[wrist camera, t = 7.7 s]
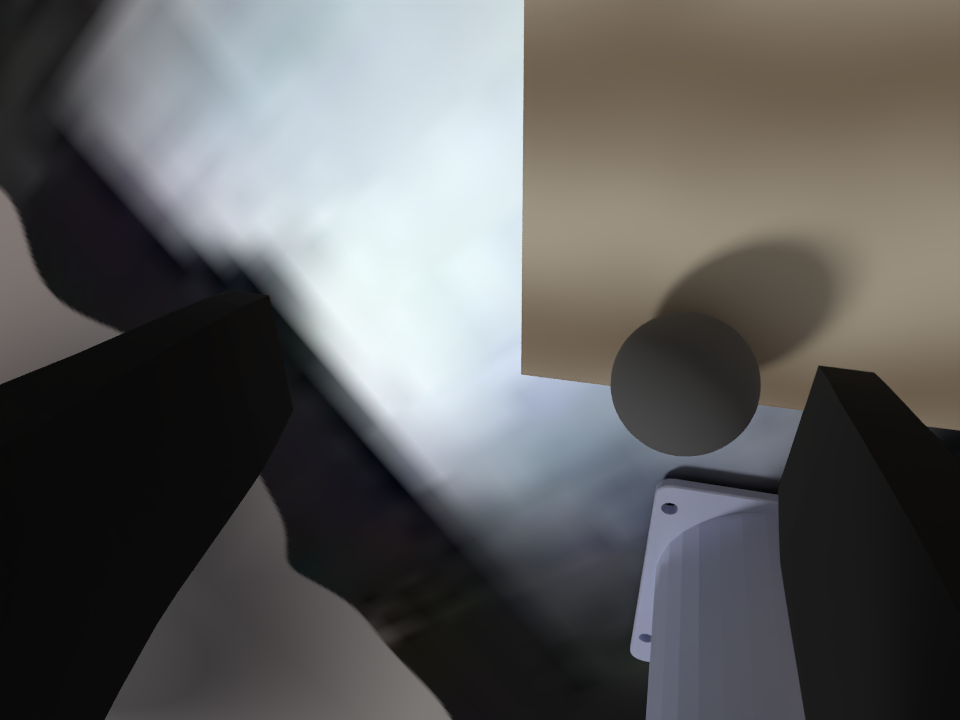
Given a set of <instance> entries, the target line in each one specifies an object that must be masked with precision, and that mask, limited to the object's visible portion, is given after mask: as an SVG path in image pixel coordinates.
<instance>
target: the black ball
mask: <svg viewBox="0 0 960 720" xmlns="http://www.w3.org/2000/svg"><path fill="white" fill-rule="evenodd" d="M760 392H761V377H760V372H759V367H758V363H757V361H756V358H755V356H754V354H753V352H752V350H751V348H750V347H749V345H748V344H747V342H746V341H745V340H744V339H743V337H742V336H741V335H740V334H739V333H738V332H736V331H735V330H734V329H733V328H732V327H730V326H729V325H728V324H726V323H724V322H722V321H720V320H718V319H716V318H714V317H711V316H708V315H705V314H701V313H694V312H675V313H670V314H665V315H662V316H659V317H656V318H654V319H652V320H650V321H648V322H646V323H644V324H643V325H641V326H640V327H639V328H637V329H636V330H635V331H634V332H633V333H632V334H631V335H630V336H629V337H628V338H627V339H626V340H625V342H624V343H623V344H622V346H621V348H620V350H619V352H618V353H617V355H616V358H615V361H614V364H613V367H612V372H611V394H612V400H613V403H614V407H615V409H616V412H617V414H618V416H619V418H620V420H621V421H622V422H623V424H624V425H625V427H626V428H627V429H628V430H629V432H630V433H631V434H632V435H633V436H635V437H636V438H637V439H638V440H639V441H641V442H642V443H644V444H645V445H646V446H648V447H650V448H652V449H654V450H657V451H659V452H662V453H666V454H670V455H675V456H698V455H703V454H708V453H711V452H714V451H716V450H718V449H721V448H722V447H724V446H726V445H727V444H729V443H731V442H732V441H733V440H735V439H736V438H737V437H738V436H739V435H740V434H741V433H742V432H743V431H744V430H745V428H746V427H747V426H748V425H749V423H750V421H751V419H752V418H753V416H754V414H755V412H756V409H757V406H758V403H759V398H760Z"/></svg>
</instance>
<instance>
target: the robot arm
mask: <svg viewBox="0 0 960 720" xmlns="http://www.w3.org/2000/svg"><path fill="white" fill-rule="evenodd" d="M292 411H293V406H292V402H291V397H290V392H289V387H288V383H287V378H286V373H285V369H284V364H283V359H282V354H281V350H280V345H279V340H278V336H277V331H276V326H275V321H274V317H273V312H272V307H271V303H270V298H269V295H261V294H253V293H246V292H238V291H227V292H224V293H221V294H218V295H215V296H212V297H209V298H206V299H204V300H201V301H198V302H196V303H193V304H191V305H188V306H186V307H183V308H181V309H179V310H176V311H174V312H172V313H169V314H167V315H165V316H162V317H160V318H158V319H155V320H153V321H151V322H148V323H146V324H144V325H142V326H139V327H137V328H135V329H132V330H130V331H128V332H125V333H123V334H121V335H119V336H116V337H114V338H112V339H109V340H107V341H105V342H103V343H100V344H98V345H96V346H93V347H91V348H89V349H87V350H84V351H82V352H80V353H77V354H75V355H73V356H70V357H68V358H65V359H63V360H60V361H57V362H55V363H53V364H50V365H48V366H46V367H43V368H40V369H38V370H35V371H33V372H30V373H28V374H25V375H23V376H20V377H18V378H15V379H13V380H11V381H8V382H6V383H3V384H1V385H0V720H105V718H106V716H107V714H108V712H109V710H110V708H111V706H112V704H113V702H114V700H115V698H116V697H117V695H118V693H119V691H120V689H121V687H122V686H123V683H124V682H125V680H126V678H127V677H128V675H129V673H130V671H131V669H132V668H133V666H134V664H135V662H136V660H137V659H138V657H139V655H140V653H141V651H142V650H143V648H144V646H145V644H146V642H147V641H148V639H149V637H150V635H151V634H152V632H153V630H154V628H155V627H156V625H157V623H158V622H159V620H160V619H161V617H162V615H163V614H164V612H165V611H166V609H167V608H168V606H169V604H170V603H171V601H172V600H173V598H174V597H175V595H176V594H177V592H178V591H179V590H180V588H181V587H182V585H183V584H184V582H185V581H186V580H187V578H188V577H189V575H190V574H191V572H192V571H193V570H194V568H195V567H196V565H197V564H198V562H199V561H200V559H201V558H202V557H203V555H204V554H205V552H206V551H207V550H208V548H209V547H210V545H211V544H212V542H213V541H214V540H215V538H216V537H217V535H218V534H219V533H220V531H221V530H222V528H223V527H224V525H225V524H226V523H227V521H228V520H229V518H230V517H231V515H232V514H233V513H234V511H235V509H236V508H237V507H238V505H239V504H240V502H241V501H242V500H243V498H244V497H245V495H246V494H247V492H248V491H249V489H250V488H251V486H252V485H253V483H254V482H255V481H256V479H257V478H258V476H259V474H260V473H261V471H262V470H263V468H264V467H265V465H266V463H267V461H268V459H269V457H270V455H271V454H272V452H273V450H274V448H275V446H276V444H277V442H278V440H279V438H280V436H281V434H282V432H283V430H284V428H285V425H286V423H287V421H288V419H289V417H290V415H291V413H292ZM665 503H672V504H675V505H674V506H668V505H666V504H665ZM630 651H631V654H632V655H633V656H634V657H636V658H637V659H640V660H643V661H648V662H650V666H649V681H648V697H647V712H646V720H960V461H959V460H958V459H957V458H956V457H955V456H954V455H953V454H952V453H951V452H950V451H949V450H948V449H947V448H946V447H945V446H944V445H943V443H942V442H941V441H940V440H939V439H938V438H937V437H936V436H935V435H934V434H933V433H932V432H931V431H930V430H929V429H928V428H927V427H926V425H925V424H924V423H923V422H922V421H921V420H920V419H919V418H918V417H917V416H916V415H915V414H914V413H913V412H912V411H911V409H910V408H909V407H908V406H907V405H906V404H905V403H904V402H903V401H902V400H901V399H900V398H899V397H898V396H897V395H896V394H895V393H894V391H893V390H892V389H891V388H890V387H889V386H888V385H887V384H886V383H885V382H884V381H883V380H882V379H881V378H880V377H879V376H878V375H877V374H875V373H874V372H867V371H859V370H851V369H844V368H836V367H828V366H820V365H818V368H817V371H816V374H815V377H814V380H813V383H812V387H811V390H810V393H809V396H808V399H807V402H806V405H805V408H804V411H803V414H802V417H801V420H800V423H799V426H798V429H797V432H796V435H795V438H794V441H793V444H792V447H791V451H790V454H789V457H788V460H787V463H786V466H785V469H784V472H783V475H782V478H781V481H780V484H779V487H778V495H777V494H770V493H764V492H757V491H751V490H744V489H738V488H731V487H724V486H718V485H711V484H705V483H698V482H692V481H685V480H679V479H665V480H662V481H660V482H659V483H658V484H657V486H656V491H655V497H654V503H653V509H652V515H651V522H650V528H649V534H648V540H647V546H646V552H645V559H644V565H643V571H642V577H641V583H640V589H639V596H638V602H637V608H636V614H635V620H634V626H633V633H632V639H631V647H630Z"/></svg>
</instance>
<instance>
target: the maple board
mask: <svg viewBox="0 0 960 720" xmlns="http://www.w3.org/2000/svg"><path fill="white" fill-rule="evenodd" d="M675 312H694V313H701V314H705V315H708V316H711V317H714V318H716V319H718V320H720V321H722V322H724V323H726V324H728V325H729V326H730V327H732V328H733V329H734V330H735V331H736V332H738V333H739V334H740V335H741V336H742V337H743V339H744V340H745V341H746V342H747V344H748V345H749V347H750V348H751V350H752V352H753V354H754V356H755V358H756V361H757V363H758V367H759V372H760V377H761V392H760V398H759V403H758V405H764V406H772V407H780V408H788V409H796V410H804V408H805V405H806V402H807V399H808V396H809V393H810V390H811V387H812V383H813V380H814V377H815V374H816V371H817V368H818V365H820V366H828V367H836V368H844V369H851V370H859V371H867V372H874V373H875V374H877V375H878V376H879V377H880V378H881V379H882V380H883V381H884V382H885V383H886V384H887V385H888V386H889V387H890V388H891V389H892V390H893V391H894V393H895V394H896V395H897V396H898V397H899V398H900V399H901V400H902V401H903V402H904V403H905V404H906V405H907V406H908V407H909V408H910V409H911V411H912V412H913V413H914V414H915V415H916V416H917V417H918V418H919V419H920V420H921V421H922V422H923V423H924V424H925V425H926V426H929V427H936V428H944V429H952V430H960V0H524V108H523V231H522V354H521V374H522V375H530V376H538V377H546V378H553V379H561V380H569V381H577V382H585V383H592V384H600V385H608V386H611V372H612V367H613V364H614V361H615V358H616V355H617V353H618V352H619V350H620V348H621V346H622V344H623V343H624V342H625V340H626V339H627V338H628V337H629V336H630V335H631V334H632V333H633V332H634V331H635V330H636V329H637V328H639V327H640V326H641V325H643V324H644V323H646V322H648V321H650V320H652V319H654V318H656V317H659V316H662V315H665V314H670V313H675Z"/></svg>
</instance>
